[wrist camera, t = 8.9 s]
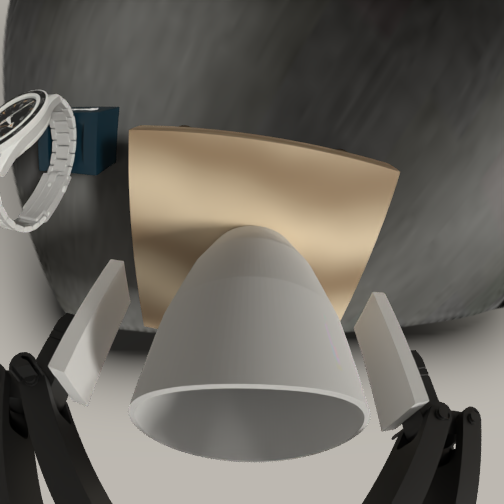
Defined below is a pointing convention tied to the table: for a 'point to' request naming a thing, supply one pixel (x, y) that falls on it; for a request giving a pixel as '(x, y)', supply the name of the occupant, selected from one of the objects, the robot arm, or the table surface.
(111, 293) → the robot arm
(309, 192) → the small wooden table
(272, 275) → the cup
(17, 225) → the watch
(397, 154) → the table surface
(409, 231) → the table surface
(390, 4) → the table surface
